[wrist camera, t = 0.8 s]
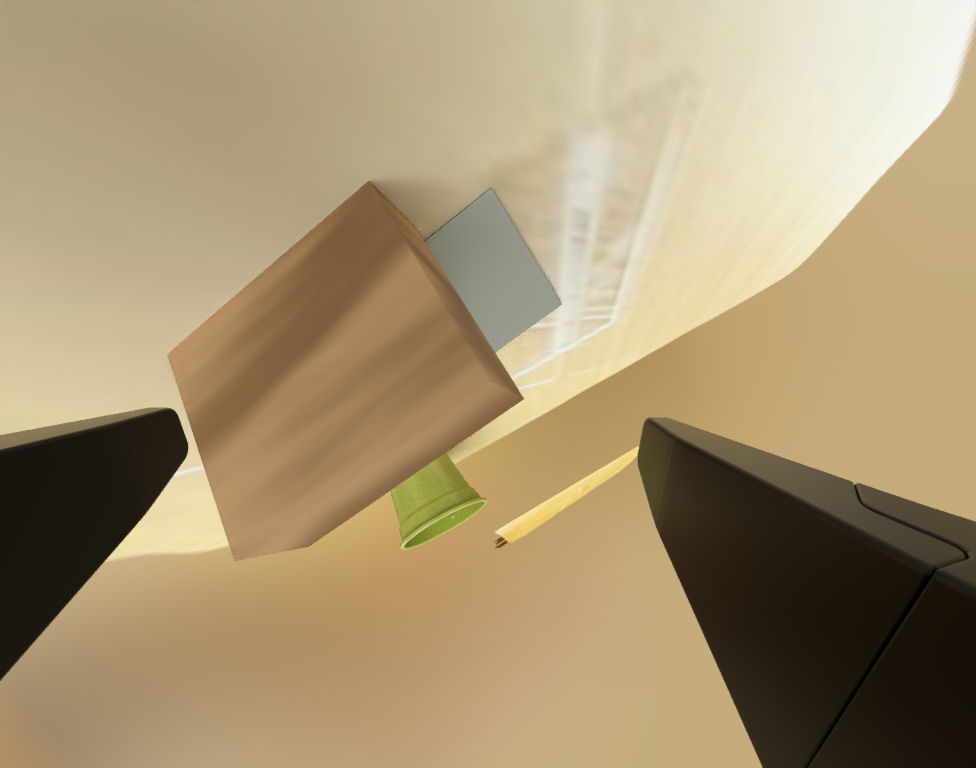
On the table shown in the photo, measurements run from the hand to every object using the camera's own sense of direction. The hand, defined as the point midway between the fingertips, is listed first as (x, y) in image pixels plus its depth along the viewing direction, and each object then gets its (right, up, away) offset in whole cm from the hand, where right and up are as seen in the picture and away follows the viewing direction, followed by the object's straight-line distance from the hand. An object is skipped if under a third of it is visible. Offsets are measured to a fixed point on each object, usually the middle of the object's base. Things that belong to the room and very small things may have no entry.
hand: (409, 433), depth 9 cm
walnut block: (-7, +5, +13) cm, 16 cm away
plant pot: (-7, -6, +40) cm, 41 cm away
